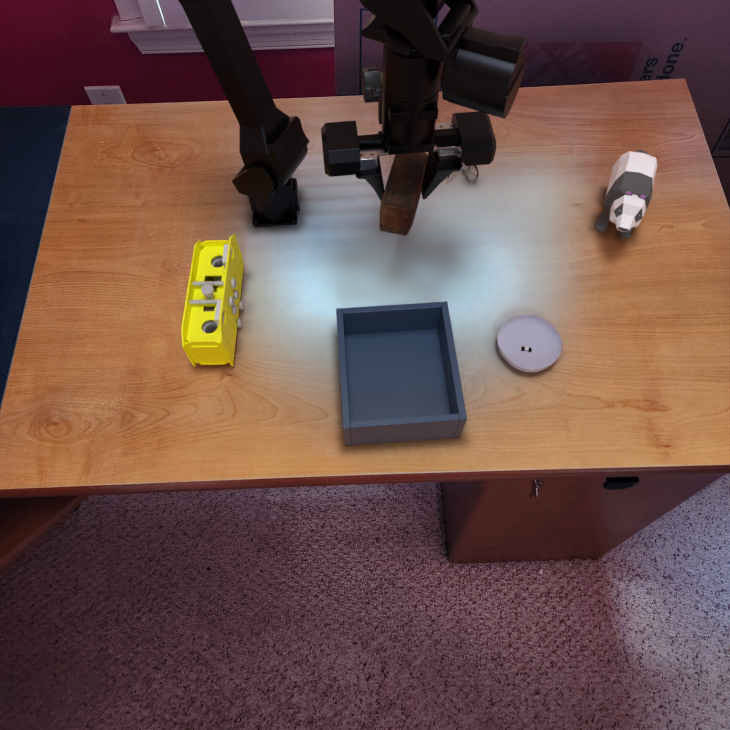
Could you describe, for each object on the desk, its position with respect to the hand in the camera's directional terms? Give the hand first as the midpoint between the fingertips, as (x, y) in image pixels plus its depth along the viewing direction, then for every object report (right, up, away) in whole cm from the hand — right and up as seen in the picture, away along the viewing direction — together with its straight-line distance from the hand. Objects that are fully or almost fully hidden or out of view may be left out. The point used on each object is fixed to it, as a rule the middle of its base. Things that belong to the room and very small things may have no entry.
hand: (403, 198), depth 71 cm
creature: (+10, +12, +16) cm, 23 cm away
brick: (0, 0, +1) cm, 1 cm away
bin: (-1, -23, 0) cm, 23 cm away
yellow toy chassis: (-24, -14, +5) cm, 28 cm away
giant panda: (+31, 0, +13) cm, 34 cm away
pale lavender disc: (+16, -19, +3) cm, 25 cm away
